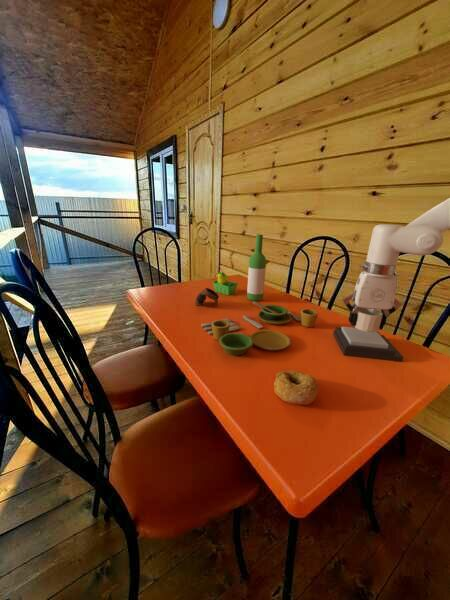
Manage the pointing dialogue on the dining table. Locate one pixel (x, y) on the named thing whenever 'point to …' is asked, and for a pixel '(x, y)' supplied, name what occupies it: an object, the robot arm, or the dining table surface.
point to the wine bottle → (256, 272)
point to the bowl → (368, 319)
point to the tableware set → (262, 338)
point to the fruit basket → (224, 284)
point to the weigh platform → (363, 338)
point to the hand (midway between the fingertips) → (365, 325)
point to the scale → (367, 349)
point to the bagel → (296, 387)
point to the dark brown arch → (203, 294)
